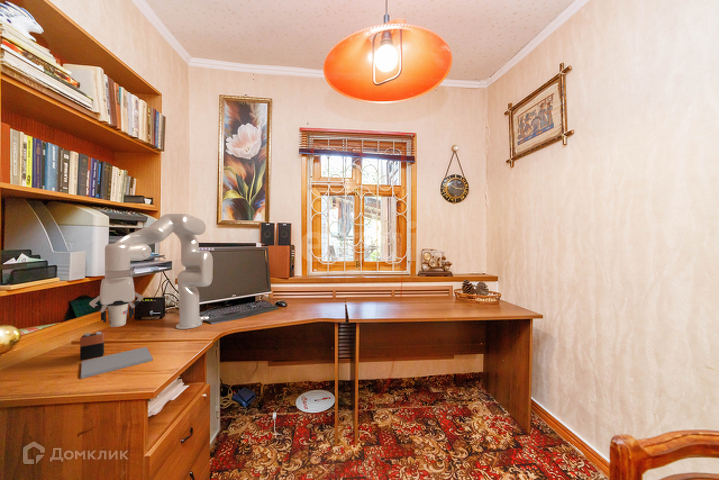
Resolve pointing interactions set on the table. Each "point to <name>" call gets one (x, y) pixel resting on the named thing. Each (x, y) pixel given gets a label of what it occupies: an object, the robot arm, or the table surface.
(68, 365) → the table surface
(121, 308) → the coffee cup
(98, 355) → the battery
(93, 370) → the desk mat
